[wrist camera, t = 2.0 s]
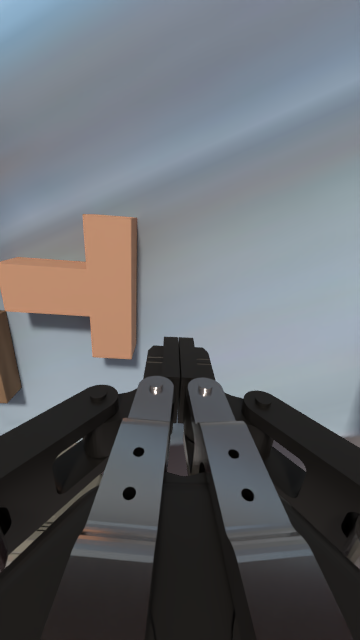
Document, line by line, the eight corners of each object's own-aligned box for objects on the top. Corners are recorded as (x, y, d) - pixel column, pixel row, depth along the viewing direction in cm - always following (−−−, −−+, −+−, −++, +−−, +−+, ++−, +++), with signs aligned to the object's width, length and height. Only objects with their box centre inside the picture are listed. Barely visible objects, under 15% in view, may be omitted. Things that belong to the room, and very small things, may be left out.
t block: (136, 217, 21) (131, 218, 18) (136, 343, 26) (131, 359, 23) (9, 207, 21) (-17, 206, 18) (31, 337, 25) (14, 352, 22)
